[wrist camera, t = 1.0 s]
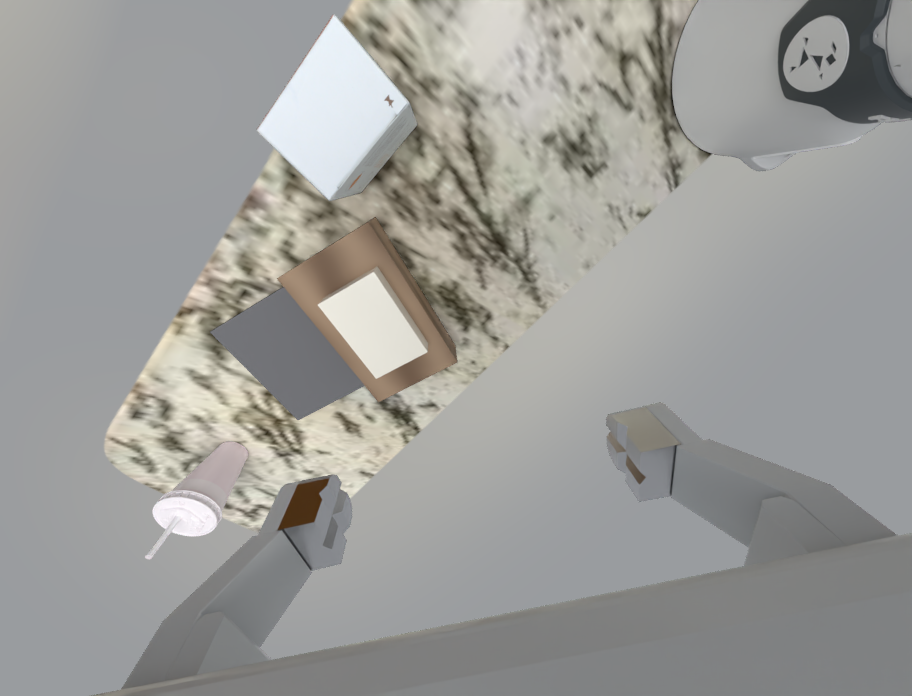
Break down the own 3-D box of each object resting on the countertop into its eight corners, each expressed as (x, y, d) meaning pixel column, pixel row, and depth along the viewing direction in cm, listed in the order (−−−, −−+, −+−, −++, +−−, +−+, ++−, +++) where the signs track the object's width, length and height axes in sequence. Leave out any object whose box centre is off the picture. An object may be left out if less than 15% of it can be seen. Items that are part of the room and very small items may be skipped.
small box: (369, 65, 27) (334, 6, 18) (419, 125, 29) (412, 100, 20) (309, 144, 29) (251, 129, 20) (360, 195, 31) (328, 202, 22)
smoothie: (218, 425, 42) (128, 529, 30) (267, 448, 44) (202, 553, 32) (199, 456, 44) (107, 565, 32) (246, 476, 46) (177, 586, 34)
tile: (377, 266, 30) (373, 271, 29) (428, 343, 34) (427, 352, 32) (324, 297, 31) (317, 304, 30) (379, 368, 35) (376, 378, 33)
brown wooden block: (375, 217, 32) (368, 222, 29) (455, 345, 39) (457, 362, 35) (293, 268, 34) (277, 278, 30) (383, 382, 41) (378, 402, 37)
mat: (300, 276, 34) (298, 277, 34) (378, 376, 40) (378, 378, 40) (212, 330, 36) (209, 332, 36) (299, 417, 42) (298, 420, 42)
